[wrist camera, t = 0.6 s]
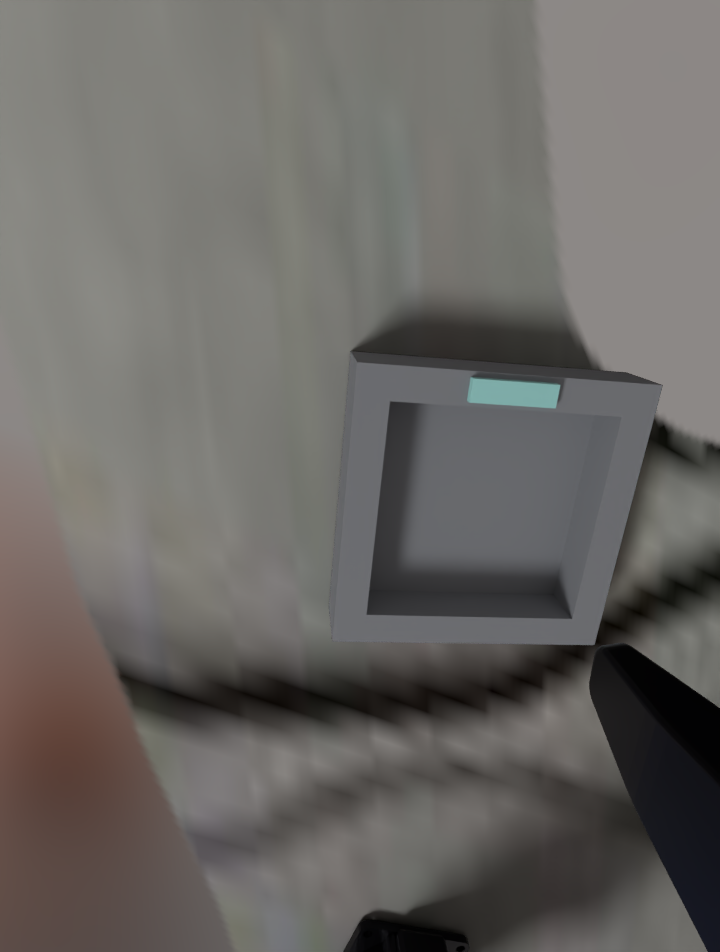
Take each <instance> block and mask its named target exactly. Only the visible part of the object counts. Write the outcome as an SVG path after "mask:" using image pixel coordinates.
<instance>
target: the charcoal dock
mask: <svg viewBox="0 0 720 952" xmlns="http://www.w3.org/2000/svg"><path fill="white" fill-rule="evenodd" d="M661 390H662V385H661V384H658V383H655V382H652V381H649V380H646V379H644V378H641V377H638V376H635V375H632V374H629V373H626V372H613V371H600V370H587V369H574V368H561V367H549V366H536V365H523V364H510V363H497V362H484V361H471V360H458V359H445V358H432V357H419V356H406V355H393V354H380V353H368V352H355V351H350V362H349V374H348V386H347V398H346V410H345V421H344V433H343V445H342V457H341V469H340V480H339V492H338V504H337V516H336V528H335V540H334V551H333V563H332V575H331V587H330V599H329V614H330V624H331V633H332V641H337V642H409V643H482V644H555V645H594V644H595V640H596V636H597V632H598V629H599V625H600V621H601V617H602V613H603V610H604V606H605V602H606V598H607V594H608V591H609V587H610V583H611V579H612V575H613V572H614V568H615V564H616V560H617V557H618V553H619V549H620V545H621V541H622V538H623V534H624V530H625V526H626V522H627V519H628V515H629V511H630V507H631V503H632V500H633V496H634V492H635V488H636V485H637V481H638V477H639V473H640V469H641V466H642V462H643V458H644V454H645V450H646V447H647V443H648V439H649V435H650V432H651V428H652V424H653V420H654V416H655V413H656V409H657V405H658V401H659V397H660V393H661Z"/></svg>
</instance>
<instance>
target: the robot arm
mask: <svg viewBox="0 0 720 952" xmlns="http://www.w3.org/2000/svg"><path fill="white" fill-rule="evenodd" d="M589 689H590V695H591V699H592V701H593V704H594V707H595V709H596V712H597V714H598V717H599V719H600V722H601V725H602V727H603V730H604V732H605V735H606V737H607V740H608V742H609V745H610V748H611V750H612V753H613V755H614V758H615V760H616V763H617V766H618V768H619V771H620V773H621V776H622V778H623V781H624V784H625V786H626V788H627V791H628V793H629V796H630V798H631V801H632V803H633V805H634V807H635V809H636V811H637V813H638V815H639V818H640V820H641V822H642V824H643V826H644V828H645V830H646V832H647V833H648V835H649V837H650V839H651V841H652V843H653V845H654V847H655V849H656V851H657V853H658V855H659V857H660V859H661V861H662V863H663V865H664V867H665V869H666V871H667V873H668V875H669V877H670V879H671V881H672V882H673V884H674V886H675V888H676V890H677V892H678V894H679V896H680V898H681V900H682V902H683V904H684V906H685V908H686V910H687V912H688V914H689V916H690V918H691V920H692V922H693V924H694V926H695V928H696V930H697V931H698V933H699V935H700V937H701V939H702V941H703V943H704V945H705V947H706V949H707V951H708V952H720V708H719V707H717V706H716V705H715V704H713V703H712V702H710V701H709V700H707V699H706V698H705V697H703V696H702V695H700V694H699V693H697V692H696V691H695V690H693V689H692V688H690V687H689V686H687V685H686V684H685V683H683V682H682V681H680V680H679V679H677V678H676V677H675V676H673V675H672V674H670V673H669V672H667V671H666V670H664V669H663V668H662V667H660V666H659V665H657V664H656V663H654V662H653V661H652V660H650V659H649V658H647V657H646V656H644V655H643V654H642V653H640V652H639V651H637V650H636V649H634V648H633V647H631V646H630V645H628V644H625V643H616V644H610V645H604V646H600V647H598V648H597V650H596V651H595V655H594V660H593V665H592V671H591V676H590V682H589ZM468 950H469V944H468V940H467V937H466V936H464V935H459V934H453V933H447V932H441V931H435V930H429V929H422V928H416V927H410V926H404V925H398V924H392V923H386V922H380V921H374V920H364V921H362V922H360V923H359V925H358V926H357V928H356V930H355V932H354V933H353V935H352V937H351V939H350V941H349V943H348V944H347V946H346V948H345V950H344V952H468Z"/></svg>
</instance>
